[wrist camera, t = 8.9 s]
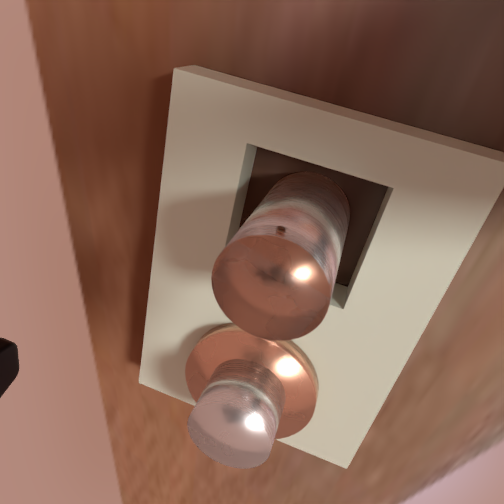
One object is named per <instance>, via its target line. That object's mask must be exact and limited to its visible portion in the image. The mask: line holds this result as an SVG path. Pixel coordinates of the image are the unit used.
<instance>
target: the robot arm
mask: <svg viewBox="0 0 504 504" xmlns="http://www.w3.org/2000/svg"><path fill="white" fill-rule="evenodd" d="M18 371H19V359H18V349H17V345H16V344H15V343H13V342H11V341H9V340H6V339H4V338H0V397H1V396H2V395H3V394H4V392H5V391H6V390H7V388H8V387H9V386H10V385H11V383H12V382H13V381H14V379H15V378H16V376H17V374H18Z"/></svg>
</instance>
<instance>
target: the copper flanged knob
mask: <svg viewBox="0 0 504 504" xmlns="http://www.w3.org/2000/svg"><path fill="white" fill-rule="evenodd" d="M185 378H186V382H187V386H188V389H189V391H190V393H191V395H192V397H193V399H194V400H195V402H196V405H195V407H194V409H193V411H192V412H191V414H190V416H189V419H188V431H189V434H190V437H191V439H192V440H193V442H194V443H195V445H196V446H197V447H198V448H199V449H200V450H201V451H202V452H203V453H204V454H206V455H207V456H208V457H210V458H211V459H213V460H215V461H217V462H219V463H221V464H224V465H226V466H230V467H234V468H253V467H257V466H259V465H261V464H263V463H264V462H265V461H266V460H267V459H268V457H269V455H270V452H271V448H272V445H273V442H274V439H281V438H285V437H289V436H291V435H294V434H296V433H298V432H299V431H301V430H302V429H303V428H304V427H306V425H307V424H308V423H309V422H310V420H311V418H312V417H313V414H314V411H315V407H316V402H317V397H318V391H319V382H318V377H317V373H316V371H315V368H314V366H313V364H312V362H311V361H310V359H309V358H308V356H307V355H306V354H305V353H304V351H303V350H302V349H301V348H300V347H299V346H298V345H296V344H295V343H294V342H293V341H292V340H285V341H275V340H268V339H263V338H260V337H257V336H254V335H252V334H249V333H247V332H246V331H244V330H242V329H241V328H239V327H238V326H236V325H235V324H234V323H226V324H222V325H219V326H217V327H214V328H212V329H211V330H209V331H208V332H206V333H205V334H204V335H203V336H202V337H201V338H200V340H199V341H198V342H197V344H196V345H195V347H194V348H193V350H192V352H191V353H190V355H189V357H188V359H187V362H186V367H185Z"/></svg>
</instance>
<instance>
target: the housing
mask: <svg viewBox="0 0 504 504" xmlns="http://www.w3.org/2000/svg"><path fill="white" fill-rule="evenodd" d="M257 146H258V147H261V148H264V149H267V150H271V151H274V152H277V153H281V154H284V155H287V156H290V157H294V158H297V159H300V160H303V161H307V162H310V163H313V164H316V165H320V166H323V167H326V168H329V169H333V170H336V171H339V172H343V173H346V174H349V175H352V176H356V177H359V178H362V179H365V180H369V181H372V182H375V183H378V184H382V185H385V186H388V189H387V192H386V194H385V196H384V199H383V201H382V204H381V206H380V209H379V211H378V214H377V216H376V219H375V221H374V223H373V226H372V228H371V231H370V233H369V236H368V238H367V241H366V243H365V246H364V248H363V250H362V253H361V255H360V258H359V260H358V263H357V265H356V268H355V270H354V273H353V275H352V277H351V280H350V282H349V285H348V287H346V286H343V285H340V284H338V283H335V284H334V288H333V292H332V297H331V301H330V305H329V308H328V312H327V314H326V316H325V318H324V319H323V321H322V322H321V324H320V325H319V326H318V327H317V328H316V329H314V330H313V331H312V332H310V333H308V334H307V335H305V336H302V337H300V338H297V339H292V341H293V342H294V343H295V344H296V345H298V346H299V347H300V348H301V349H302V350H303V351H304V353H305V354H306V355H307V356H308V358H309V359H310V361H311V362H312V364H313V366H314V368H315V371H316V373H317V377H318V382H319V391H318V397H317V402H316V407H315V411H314V414H313V417H312V418H311V420H310V422H309V423H308V424H307V425H306V427H304V428H303V429H302V430H301V431H299V432H298V433H296V434H294V435H291V436H289V437H285V438H281V439H276V440H278V441H281V442H283V443H286V444H288V445H290V446H293V447H295V448H298V449H300V450H302V451H305V452H307V453H310V454H312V455H315V456H317V457H319V458H322V459H324V460H327V461H329V462H331V463H334V464H336V465H339V466H341V467H344V468H346V469H347V468H348V466H349V464H350V462H351V460H352V459H353V457H354V455H355V453H356V451H357V450H358V448H359V446H360V444H361V442H362V441H363V439H364V437H365V435H366V433H367V432H368V430H369V428H370V426H371V425H372V423H373V421H374V419H375V417H376V416H377V414H378V412H379V410H380V408H381V407H382V405H383V403H384V401H385V399H386V398H387V396H388V394H389V392H390V390H391V389H392V387H393V385H394V383H395V381H396V380H397V378H398V376H399V374H400V372H401V371H402V369H403V367H404V365H405V363H406V362H407V360H408V358H409V356H410V354H411V353H412V351H413V349H414V347H415V346H416V344H417V342H418V340H419V338H420V337H421V335H422V333H423V331H424V329H425V328H426V326H427V324H428V322H429V320H430V319H431V317H432V315H433V313H434V311H435V310H436V308H437V306H438V304H439V302H440V301H441V299H442V297H443V295H444V293H445V292H446V290H447V288H448V286H449V284H450V283H451V281H452V279H453V277H454V276H455V274H456V272H457V270H458V268H459V267H460V265H461V263H462V261H463V259H464V258H465V256H466V254H467V252H468V250H469V249H470V247H471V245H472V243H473V241H474V240H475V238H476V236H477V234H478V232H479V231H480V229H481V227H482V225H483V223H484V222H485V220H486V218H487V216H488V214H489V213H490V211H491V209H492V207H493V205H494V204H495V202H496V200H497V198H498V197H499V195H500V193H501V191H502V189H503V188H504V153H503V152H501V151H498V150H494V149H490V148H487V147H483V146H480V145H476V144H473V143H469V142H466V141H462V140H459V139H455V138H452V137H448V136H444V135H441V134H437V133H434V132H430V131H427V130H423V129H420V128H416V127H413V126H409V125H405V124H402V123H398V122H395V121H391V120H388V119H384V118H381V117H377V116H374V115H370V114H367V113H363V112H359V111H356V110H352V109H349V108H345V107H342V106H338V105H335V104H331V103H328V102H324V101H320V100H317V99H313V98H310V97H306V96H303V95H299V94H296V93H292V92H289V91H285V90H282V89H278V88H274V87H271V86H267V85H264V84H260V83H257V82H253V81H250V80H246V79H243V78H239V77H236V76H232V75H228V74H225V73H221V72H218V71H214V70H211V69H207V68H204V67H200V66H197V65H191V66H184V67H177V68H174V71H173V80H172V89H171V98H170V107H169V116H168V125H167V134H166V143H165V152H164V161H163V170H162V178H161V187H160V196H159V205H158V214H157V223H156V232H155V241H154V250H153V259H152V268H151V277H150V286H149V295H148V304H147V313H146V322H145V331H144V340H143V349H142V358H141V367H140V376H139V383H141V384H143V385H145V386H148V387H150V388H153V389H155V390H158V391H160V392H162V393H165V394H167V395H170V396H172V397H174V398H177V399H179V400H182V401H184V402H187V403H189V404H191V405H194V406H195V405H196V402H195V400H194V399H193V397H192V395H191V393H190V391H189V389H188V386H187V382H186V378H185V367H186V362H187V359H188V357H189V355H190V353H191V352H192V350H193V348H194V347H195V345H196V344H197V342H198V341H199V340H200V338H201V337H202V336H203V335H204V334H205V333H206V332H208V331H209V330H211V329H212V328H214V327H217V326H219V325H222V324H226V323H233V322H232V321H230V319H229V318H228V317H227V316H226V315H225V314H224V313H223V311H222V310H221V308H220V307H219V305H218V303H217V301H216V299H215V297H214V293H213V290H212V281H211V276H212V270H213V266H214V263H215V261H216V259H217V257H218V256H219V254H220V253H221V252H222V250H223V249H224V248H225V247H226V245H227V244H228V243H229V242H230V240H231V239H232V238H233V236H234V235H235V234H236V233H237V231H238V230H239V226H240V221H241V217H242V213H243V208H244V204H245V199H246V195H247V190H248V186H249V181H250V177H251V173H252V168H253V164H254V159H255V155H256V150H257Z"/></svg>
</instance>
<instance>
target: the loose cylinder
mask: <svg viewBox="0 0 504 504" xmlns="http://www.w3.org/2000/svg"><path fill="white" fill-rule="evenodd" d="M349 221H350V207H349V203H348V200H347V198H346V195H345V194H344V192H343V191H342V189H341V188H340V187H339V186H338V185H337V184H336V183H335V182H334V181H332V180H331V179H330V178H328V177H326V176H324V175H321V174H318V173H314V172H297V173H293V174H290V175H288V176H285V177H284V178H282V179H281V180H279V181H278V182H277V183H276V184H275V185H274V186H273V187H272V189H271V190H270V191H269V192H268V194H267V195H266V196H265V197H264V199H263V200H262V201H261V203H260V204H259V205H258V206H257V208H256V209H255V210H254V211H253V213H252V214H251V215H250V216H249V218H248V219H247V220H246V221H245V223H244V224H243V225H242V226H241V228H240V229H239V230H238V231H237V233H236V234H235V235H234V236H233V238H232V239H231V240H230V242H229V243H228V244H227V245H226V247H225V248H224V249H223V250H222V252H221V253H220V254H219V256H218V257H217V259H216V261H215V263H214V266H213V270H212V276H211V281H212V290H213V293H214V297H215V299H216V301H217V303H218V305H219V307H220V308H221V310H222V311H223V313H224V314H225V315H226V316H227V317H228V318H229V319H230V321H232V322H233V323H234V324H235V325H236V326H238V327H239V328H241V329H242V330H244V331H246V332H247V333H249V334H252V335H254V336H257V337H260V338H263V339H268V340H275V341H285V340H292V339H297V338H300V337H302V336H305V335H307V334H308V333H310V332H312V331H313V330H314V329H316V328H317V327H318V326H319V325H320V324H321V322H322V321H323V319H324V318H325V316H326V314H327V312H328V308H329V305H330V301H331V297H332V292H333V288H334V284H335V280H336V276H337V271H338V267H339V263H340V259H341V255H342V251H343V246H344V242H345V238H346V234H347V230H348V226H349Z"/></svg>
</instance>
